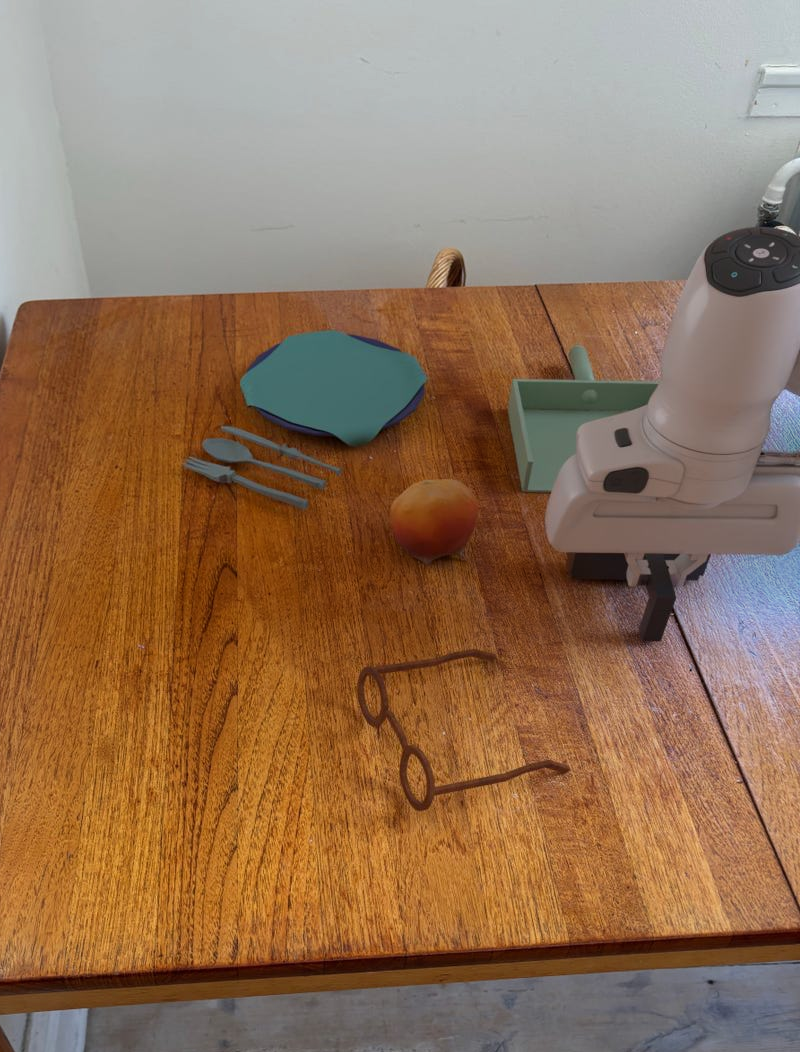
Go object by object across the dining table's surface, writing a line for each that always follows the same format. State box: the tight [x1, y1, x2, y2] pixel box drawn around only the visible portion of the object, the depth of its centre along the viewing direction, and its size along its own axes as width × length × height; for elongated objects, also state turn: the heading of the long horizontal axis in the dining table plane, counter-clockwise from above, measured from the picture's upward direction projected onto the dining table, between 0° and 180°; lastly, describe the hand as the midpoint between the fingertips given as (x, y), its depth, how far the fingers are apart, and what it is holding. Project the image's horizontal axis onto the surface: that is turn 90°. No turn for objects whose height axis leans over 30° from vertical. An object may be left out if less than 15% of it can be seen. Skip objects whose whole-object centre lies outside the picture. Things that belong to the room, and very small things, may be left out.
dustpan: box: [507, 344, 660, 494], centre depth 111 cm, size 24×17×4 cm
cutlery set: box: [181, 329, 430, 511], centre depth 112 cm, size 20×30×2 cm, turn 149°
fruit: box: [390, 478, 480, 567], centre depth 97 cm, size 8×8×8 cm
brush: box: [565, 552, 712, 643], centre depth 91 cm, size 10×12×5 cm
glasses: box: [356, 648, 572, 812], centre depth 81 cm, size 13×13×5 cm
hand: (653, 582), depth 90 cm, fingers closed on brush
